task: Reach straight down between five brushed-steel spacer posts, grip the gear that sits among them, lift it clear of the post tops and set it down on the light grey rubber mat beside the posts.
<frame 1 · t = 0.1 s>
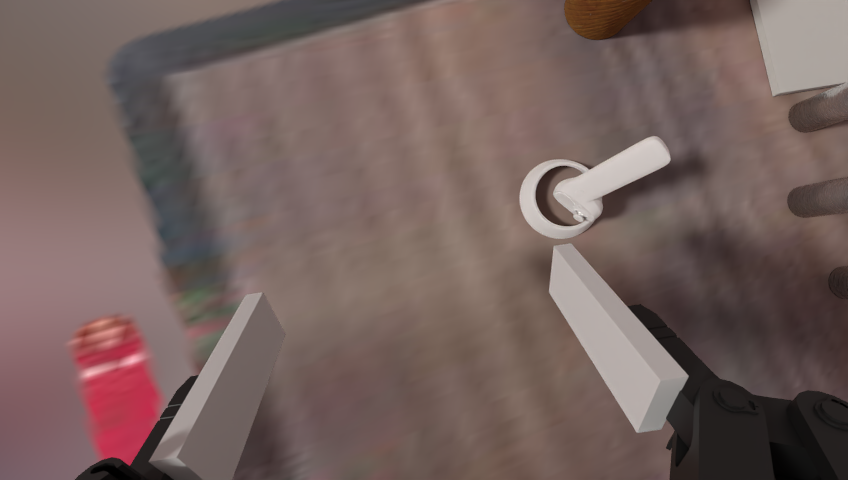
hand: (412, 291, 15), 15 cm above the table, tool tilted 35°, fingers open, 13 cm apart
disposable coffee cup: (594, 11, 31), on the table
hook: (558, 199, 30), on the table
rubber mat: (838, 19, 31), on the table
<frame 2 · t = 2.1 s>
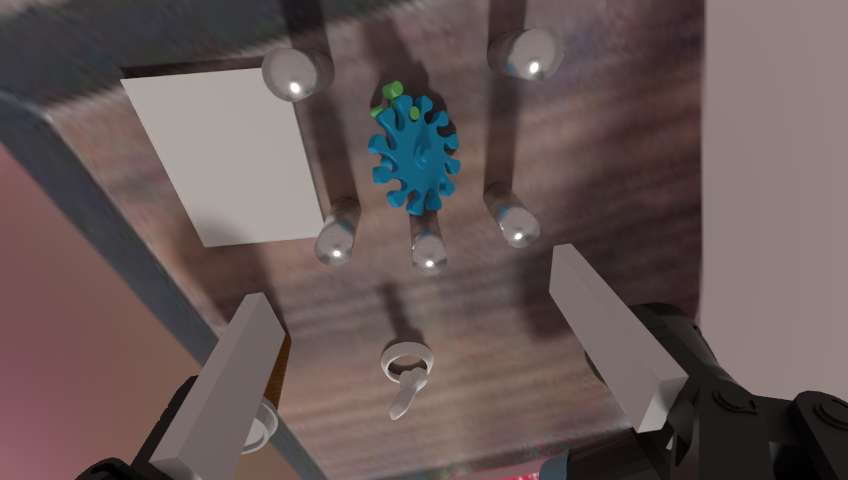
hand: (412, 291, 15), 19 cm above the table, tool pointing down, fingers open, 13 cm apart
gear: (414, 140, 30), on the table
disposable coffee cup: (267, 338, 42), on the table
hook: (407, 358, 46), on the table
rubber mat: (241, 166, 30), on the table
spacer posts: (417, 140, 30), on the table
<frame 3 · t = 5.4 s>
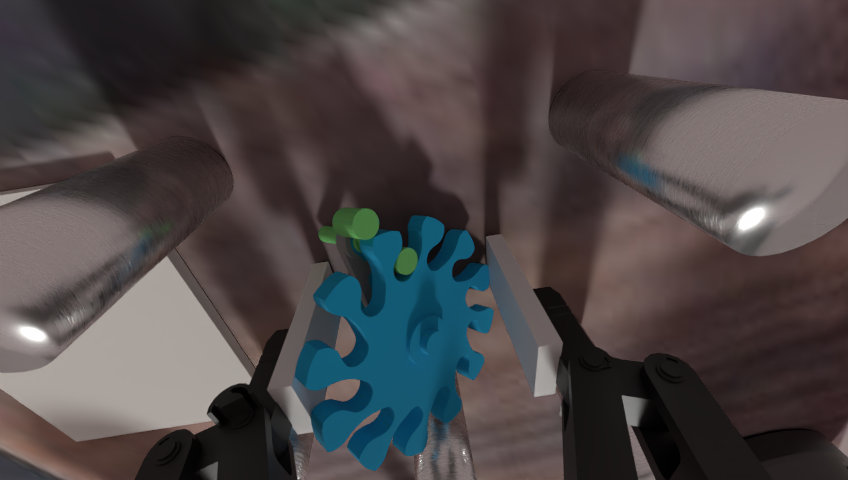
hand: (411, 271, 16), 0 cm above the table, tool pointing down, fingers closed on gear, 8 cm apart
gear: (408, 269, 16), on the table, touching gripper
rubber mat: (99, 335, 17), on the table
spacer posts: (413, 270, 16), on the table
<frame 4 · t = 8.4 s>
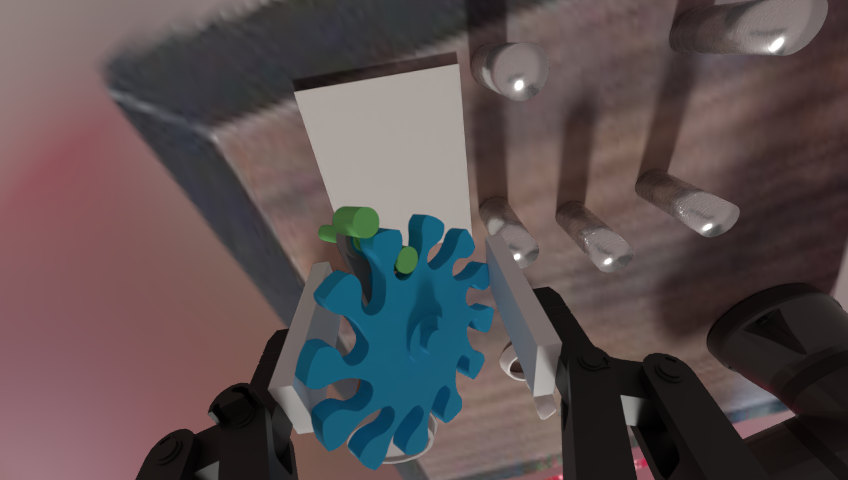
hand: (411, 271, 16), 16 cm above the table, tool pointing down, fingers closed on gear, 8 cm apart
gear: (408, 268, 16), point 15 cm above the table, touching gripper
disposable coffee cup: (392, 344, 42), on the table
hook: (525, 355, 45), on the table
rubber mat: (395, 173, 29), on the table
spacer posts: (579, 131, 29), on the table
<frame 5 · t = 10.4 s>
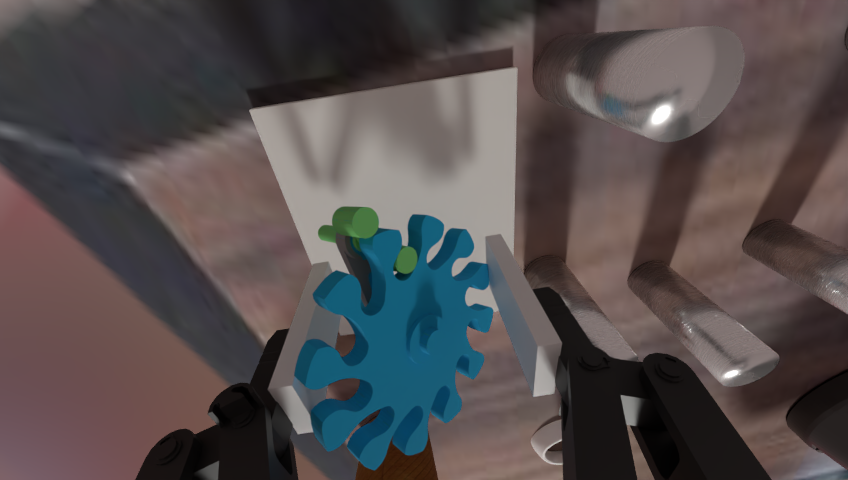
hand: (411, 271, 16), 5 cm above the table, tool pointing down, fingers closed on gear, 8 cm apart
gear: (408, 268, 16), point 4 cm above the table, touching gripper
disposable coffee cup: (396, 426, 32), on the table
hook: (563, 433, 36), on the table
rubber mat: (409, 226, 20), on the table
spacer posts: (681, 168, 19), on the table
when the fingers open (2 cm above the table, at t = 11.9 s): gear stays where it is, resting on rubber mat.
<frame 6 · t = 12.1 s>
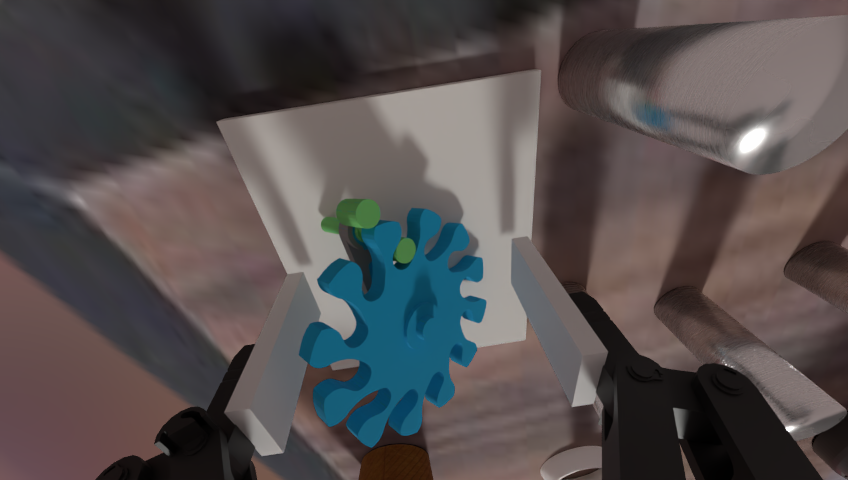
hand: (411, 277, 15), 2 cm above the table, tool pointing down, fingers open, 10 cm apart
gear: (406, 260, 17), resting on rubber mat
disposable coffee cup: (395, 458, 30), on the table
hook: (574, 461, 34), on the table
rubber mat: (409, 252, 17), on the table
spacer posts: (724, 186, 17), on the table
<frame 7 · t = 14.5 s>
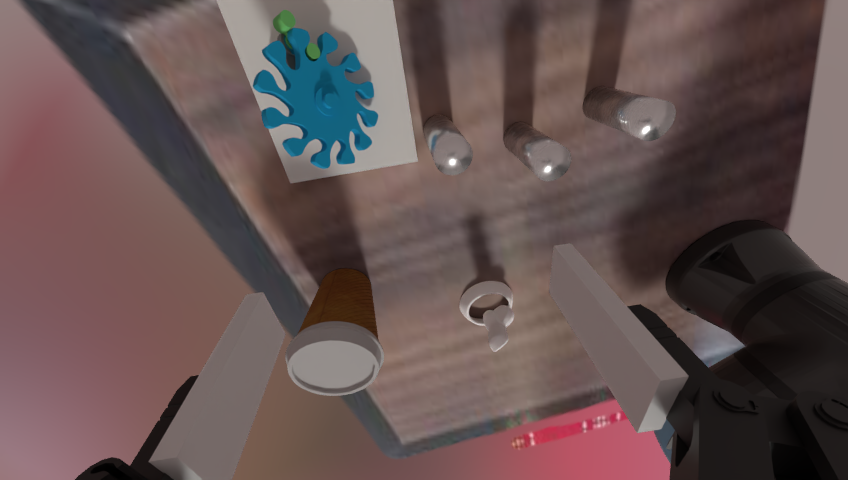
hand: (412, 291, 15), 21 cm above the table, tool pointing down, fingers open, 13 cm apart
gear: (327, 88, 28), resting on rubber mat
disposable coffee cup: (346, 286, 41), on the table
hook: (485, 300, 45), on the table
rubber mat: (331, 84, 28), on the table
spacer posts: (520, 39, 28), on the table
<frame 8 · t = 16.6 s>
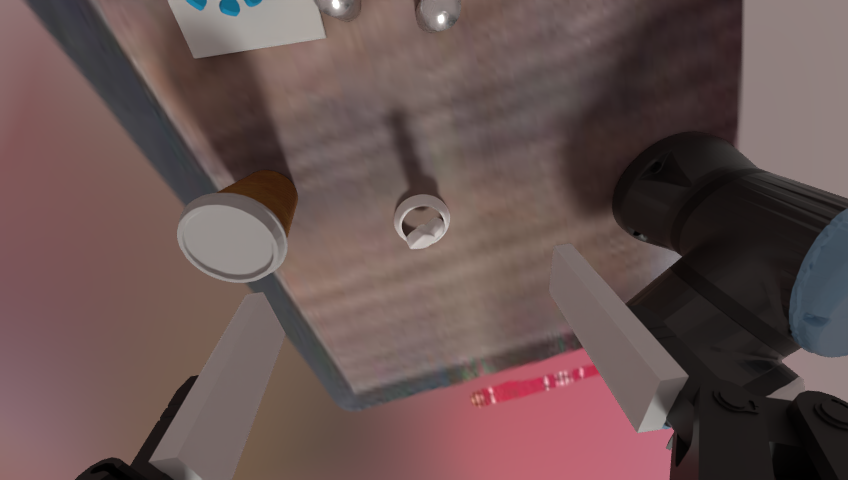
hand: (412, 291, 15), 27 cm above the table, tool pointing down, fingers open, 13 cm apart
disposable coffee cup: (272, 193, 39), on the table
hook: (421, 219, 43), on the table
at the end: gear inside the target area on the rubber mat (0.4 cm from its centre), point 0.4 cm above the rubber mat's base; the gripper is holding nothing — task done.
